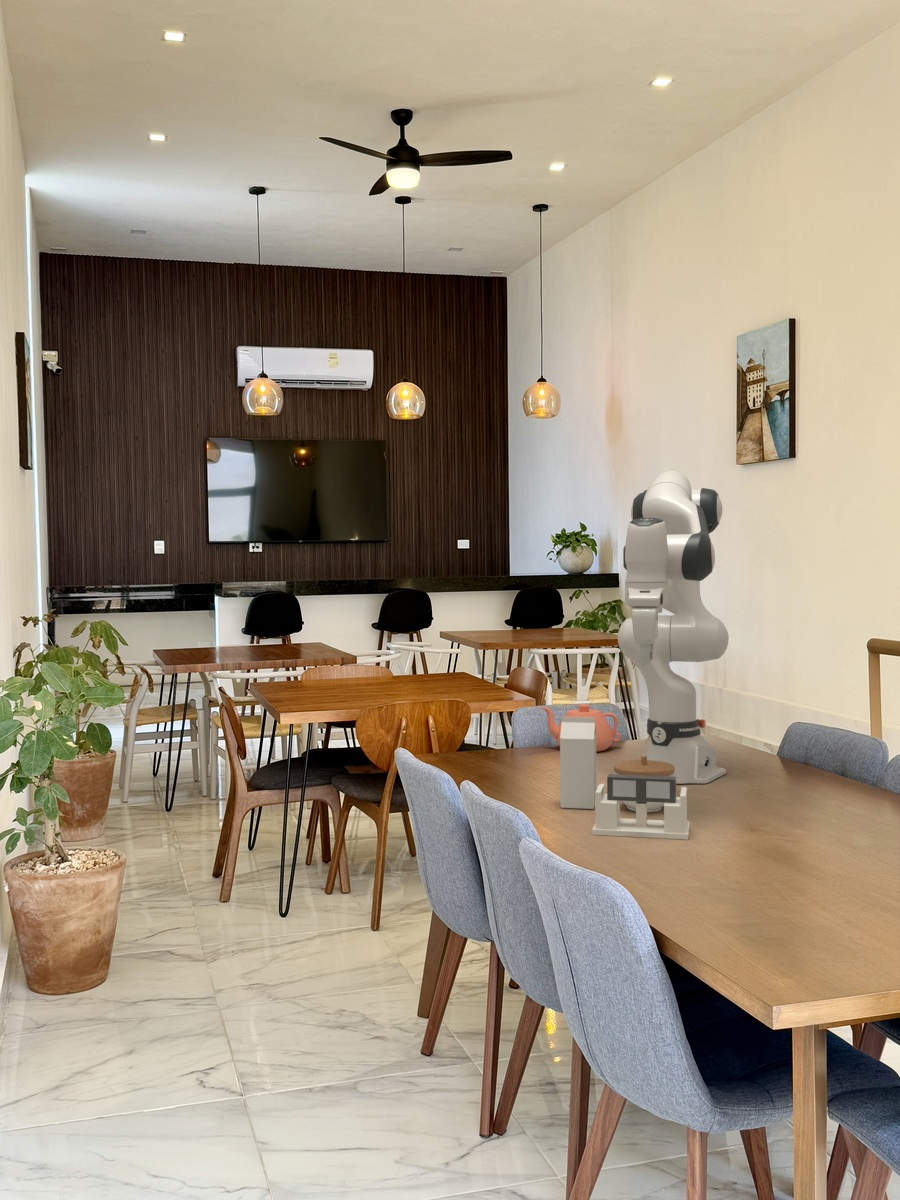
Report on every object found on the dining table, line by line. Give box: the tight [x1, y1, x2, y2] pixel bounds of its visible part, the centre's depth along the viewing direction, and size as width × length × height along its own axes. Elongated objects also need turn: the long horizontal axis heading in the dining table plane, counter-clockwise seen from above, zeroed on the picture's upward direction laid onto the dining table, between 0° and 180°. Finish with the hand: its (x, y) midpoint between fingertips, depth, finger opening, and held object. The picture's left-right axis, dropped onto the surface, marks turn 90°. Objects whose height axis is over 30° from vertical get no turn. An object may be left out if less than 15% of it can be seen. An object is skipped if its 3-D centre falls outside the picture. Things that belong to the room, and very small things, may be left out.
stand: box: [591, 783, 691, 841], centre depth 211 cm, size 18×10×8 cm, turn 76°
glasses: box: [606, 773, 677, 803], centre depth 211 cm, size 13×3×4 cm, turn 76°
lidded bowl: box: [613, 755, 675, 813], centre depth 229 cm, size 13×13×11 cm
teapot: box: [540, 703, 622, 753], centre depth 299 cm, size 22×16×12 cm
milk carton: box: [559, 716, 597, 810], centre depth 232 cm, size 7×7×19 cm
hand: (646, 662), depth 225 cm, fingers open, 8 cm apart
